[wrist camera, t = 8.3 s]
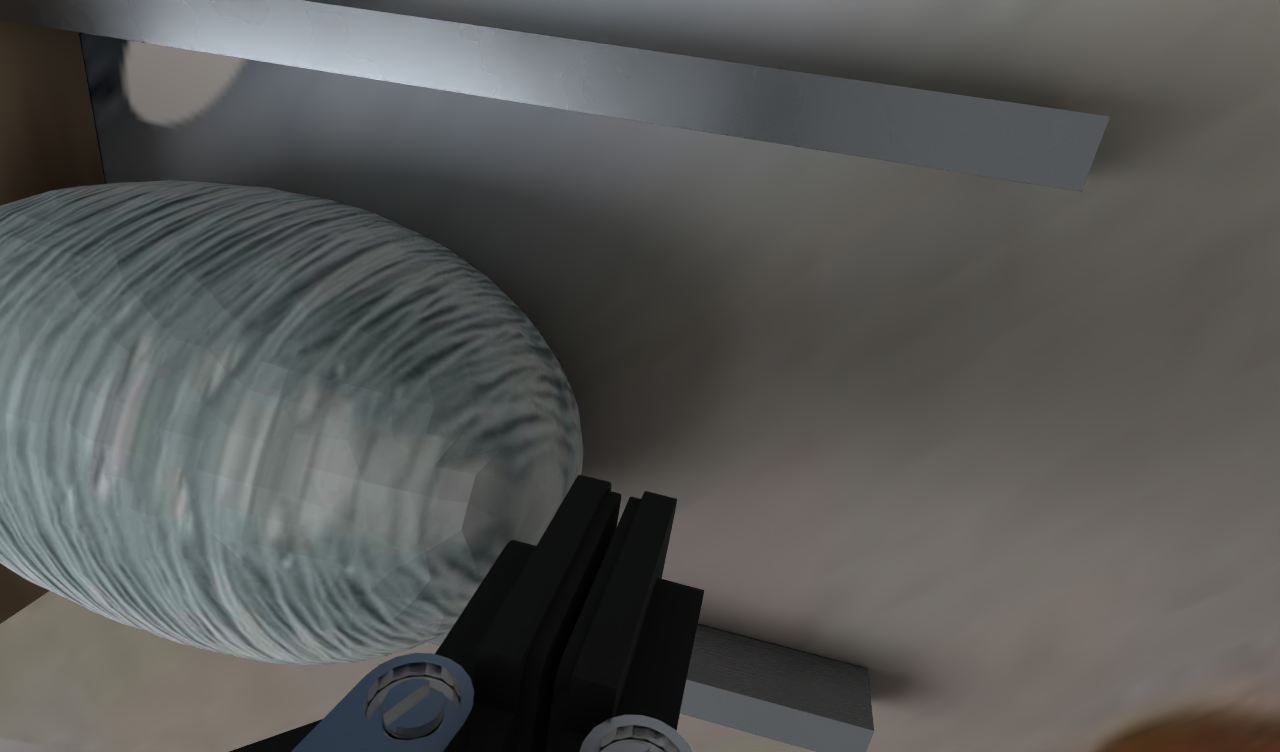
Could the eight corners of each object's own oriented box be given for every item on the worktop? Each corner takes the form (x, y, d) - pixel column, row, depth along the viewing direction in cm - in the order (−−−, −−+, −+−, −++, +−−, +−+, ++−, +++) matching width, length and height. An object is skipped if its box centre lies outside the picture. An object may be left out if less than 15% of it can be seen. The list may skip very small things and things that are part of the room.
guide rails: (67, -32, 16) (-26, -47, 14) (1067, 112, 13) (1110, 116, 11) (163, 515, 22) (107, 552, 21) (856, 701, 19) (861, 764, 18)
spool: (29, 514, 19) (-525, 665, 9) (128, 176, 19) (-298, -37, 9) (526, 617, 21) (521, 832, 11) (606, 308, 21) (672, 247, 11)
